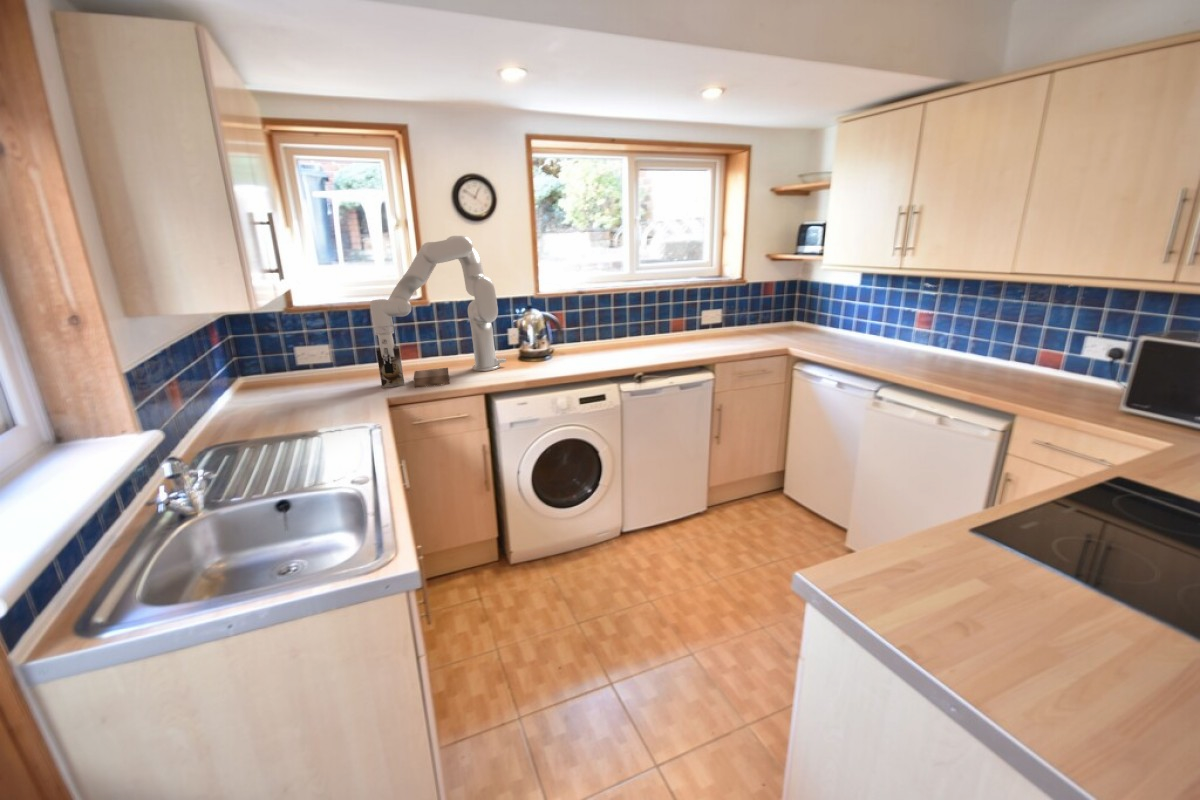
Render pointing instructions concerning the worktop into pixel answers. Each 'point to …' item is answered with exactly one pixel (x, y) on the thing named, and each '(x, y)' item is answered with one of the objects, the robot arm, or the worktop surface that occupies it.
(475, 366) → the robot arm
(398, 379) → the coffee box
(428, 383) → the walnut plinth
